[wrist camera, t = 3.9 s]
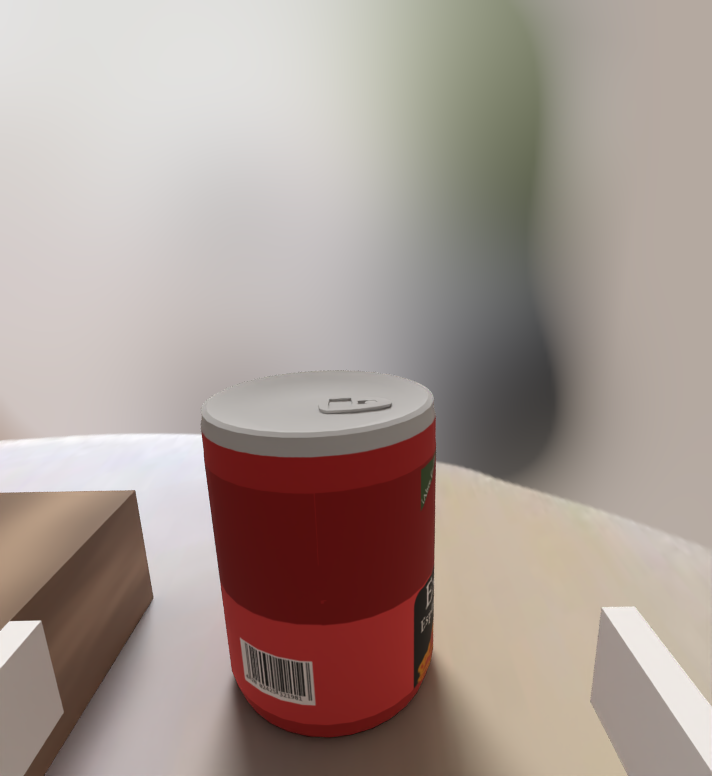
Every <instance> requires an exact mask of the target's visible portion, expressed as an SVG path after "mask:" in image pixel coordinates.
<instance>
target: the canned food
mask: <svg viewBox="0 0 712 776" xmlns="http://www.w3.org/2000/svg"><path fill="white" fill-rule="evenodd" d="M201 415H202V420H201V432H202V440H203V448H204V461H205V469H206V477H207V485H208V492H209V500H210V507H211V515H212V523H213V530H214V538H215V545H216V553H217V561H218V568H219V576H220V583H221V591H222V599H223V606H224V614H225V621H226V629H227V637H228V644H229V652H230V659H231V667H232V672H233V674H234V677H235V679H236V681H237V684H238V686H239V688H240V689H241V691H242V693H243V695H244V696H245V698H246V700H247V701H248V702H249V703H250V705H251V706H252V707H253V709H254V710H255V711H256V712H257V713H258V714H259V715H261V716H262V717H263V718H264V719H266V720H267V721H268V722H270V723H271V724H273V725H275V726H278V727H280V728H282V729H284V730H286V731H289V732H293V733H297V734H301V735H305V736H314V737H336V736H344V735H352V734H355V733H358V732H362V731H365V730H368V729H371V728H374V727H375V726H377V725H379V724H381V723H383V722H385V721H387V720H389V719H391V718H392V717H393V716H394V715H396V714H397V713H398V712H399V711H401V710H402V709H403V708H404V707H406V705H407V704H408V703H409V702H410V701H411V699H412V698H413V697H414V696H415V694H416V693H417V691H418V689H419V687H420V685H421V683H422V681H423V679H424V677H425V674H426V672H427V669H428V667H429V664H430V660H431V655H432V650H433V611H434V544H435V478H436V440H435V421H436V420H435V419H436V416H435V410H434V399H433V394H432V393H431V392H430V390H428V388H426V387H424V386H423V385H421V384H419V383H417V382H414V381H411V380H409V379H406V378H403V377H398V376H394V375H389V374H383V373H375V372H365V371H344V370H343V371H342V370H340V371H339V370H335V371H310V372H298V373H289V374H282V375H275V376H269V377H264V378H259V379H255V380H251V381H247V382H244V383H240V384H237V385H235V386H232V387H229V388H227V389H225V390H223V391H221V392H219V393H217V394H215V395H213V396H212V397H210V398H209V399H208V400H207V401H205V402H204V404H203V406H202V407H201Z"/></svg>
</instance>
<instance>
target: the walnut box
mask: <svg viewBox="0 0 712 776" xmlns="http://www.w3.org/2000/svg"><path fill="white" fill-rule="evenodd" d="M152 599H153V592H152V586H151V581H150V575H149V569H148V563H147V557H146V551H145V545H144V539H143V533H142V528H141V522H140V516H139V510H138V504H137V498H136V492H135V490H128V491H73V492H19V493H0V631H1V630H2V628H3V627H4V626H5V625H6V624H7V623H8V622H9V621H42V625H43V629H44V633H45V638H46V642H47V646H48V650H49V654H50V658H51V662H52V666H53V670H54V674H55V678H56V682H57V686H58V690H59V695H60V699H61V703H62V707H63V711H64V713H63V714H62V716H61V718H60V719H59V721H58V722H57V724H56V725H55V727H54V729H53V730H52V732H51V733H50V735H49V736H48V738H47V740H46V741H45V743H44V744H43V746H42V747H41V749H40V751H39V752H38V754H37V755H36V757H35V758H34V760H33V762H32V763H31V765H30V766H29V768H28V769H27V771H26V773H25V774H24V776H44V775H45V773H46V772H47V770H48V768H49V767H50V765H51V763H52V762H53V760H54V759H55V757H56V755H57V754H58V752H59V750H60V749H61V747H62V746H63V744H64V742H65V741H66V739H67V737H68V736H69V734H70V733H71V731H72V729H73V728H74V726H75V724H76V723H77V721H78V720H79V718H80V716H81V715H82V713H83V711H84V710H85V708H86V707H87V705H88V703H89V702H90V700H91V698H92V697H93V695H94V694H95V692H96V690H97V689H98V687H99V685H100V684H101V682H102V681H103V679H104V677H105V676H106V674H107V672H108V671H109V669H110V668H111V666H112V664H113V663H114V661H115V659H116V658H117V656H118V655H119V653H120V651H121V650H122V648H123V646H124V645H125V643H126V642H127V640H128V638H129V637H130V635H131V633H132V632H133V630H134V629H135V627H136V625H137V624H138V622H139V620H140V619H141V617H142V616H143V614H144V612H145V611H146V609H147V607H148V606H149V604H150V603H151V601H152Z"/></svg>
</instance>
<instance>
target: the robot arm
mask: <svg viewBox="0 0 712 776" xmlns="http://www.w3.org/2000/svg"><path fill="white" fill-rule="evenodd" d="M590 702H591V704H592V706H593V708H594V710H595V712H596V714H597V715H598V717H599V719H600V721H601V723H602V725H603V727H604V729H605V731H606V733H607V735H608V737H609V739H610V741H611V743H612V745H613V747H614V749H615V751H616V753H617V755H618V757H619V759H620V761H621V763H622V765H623V767H624V769H625V771H626V773H627V775H628V776H712V707H711V705H710V704H709V703H708V701H707V700H706V699H705V698H704V696H703V695H702V694H701V692H700V691H699V690H698V688H697V687H696V686H695V684H694V683H693V682H692V681H691V679H690V678H689V677H688V675H687V674H686V673H685V671H684V670H683V669H682V667H681V666H680V665H679V664H678V662H677V661H676V660H675V658H674V657H673V656H672V654H671V653H670V652H669V651H668V649H667V648H666V647H665V645H664V644H663V643H662V641H661V640H660V639H659V637H658V636H657V635H656V634H655V632H654V631H653V630H652V628H651V627H650V626H649V624H648V623H647V622H646V620H645V619H644V618H643V617H642V615H641V614H640V613H639V611H638V610H637V609H636V607H601V616H600V624H599V633H598V641H597V649H596V658H595V666H594V675H593V683H592V692H591V700H590ZM63 713H64V711H63V707H62V703H61V699H60V695H59V690H58V686H57V682H56V678H55V674H54V670H53V666H52V662H51V658H50V654H49V650H48V646H47V642H46V638H45V633H44V629H43V625H42V621H9V622H8V623H7V624H6V625H5V626H4V627H3V628H2V630H1V631H0V776H24V774H25V773H26V771H27V769H28V768H29V766H30V765H31V763H32V762H33V760H34V758H35V757H36V755H37V754H38V752H39V751H40V749H41V747H42V746H43V744H44V743H45V741H46V740H47V738H48V736H49V735H50V733H51V732H52V730H53V729H54V727H55V725H56V724H57V722H58V721H59V719H60V718H61V716H62V714H63Z"/></svg>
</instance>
